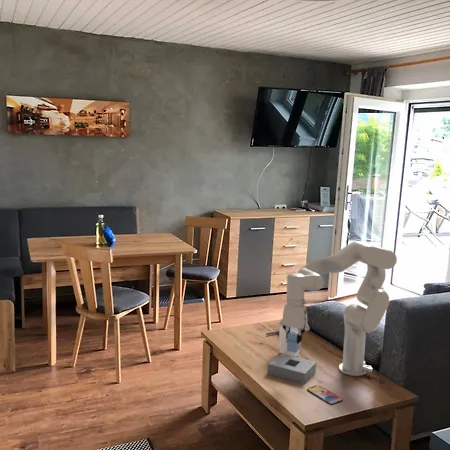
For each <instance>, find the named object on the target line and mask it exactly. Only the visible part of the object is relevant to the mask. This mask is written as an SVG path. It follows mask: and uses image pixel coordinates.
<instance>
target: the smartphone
mask: <svg viewBox="0 0 450 450" xmlns="http://www.w3.org/2000/svg"><path fill="white" fill-rule="evenodd" d="M306 391H307V392H309V393H310V394H312V395H314V396H315V397H316V398H318V399H320V400H321V401H323V402H325V403H326V404H328V405H331V406H333V405H337V404H339V403H342V402H343V398H341V397H340V396H338V395H337V394H335V393H333V392H331V391H330V390H328V389H326V388H325V387H323V386H322V385H320V384H317V385H314V386H310V387H307V389H306Z"/></svg>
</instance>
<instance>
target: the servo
mask: <svg viewBox="0 0 450 450" xmlns="http://www.w3.org/2000/svg"><path fill="white" fill-rule="evenodd" d="M297 335H298V331H297V330H291V331H290V332H289V333H288V334H287V341H286V343H287V351H289V352H294V353H296V352H297V351H298V350H299V349H301V346H300V343H299V344H297Z"/></svg>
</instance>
